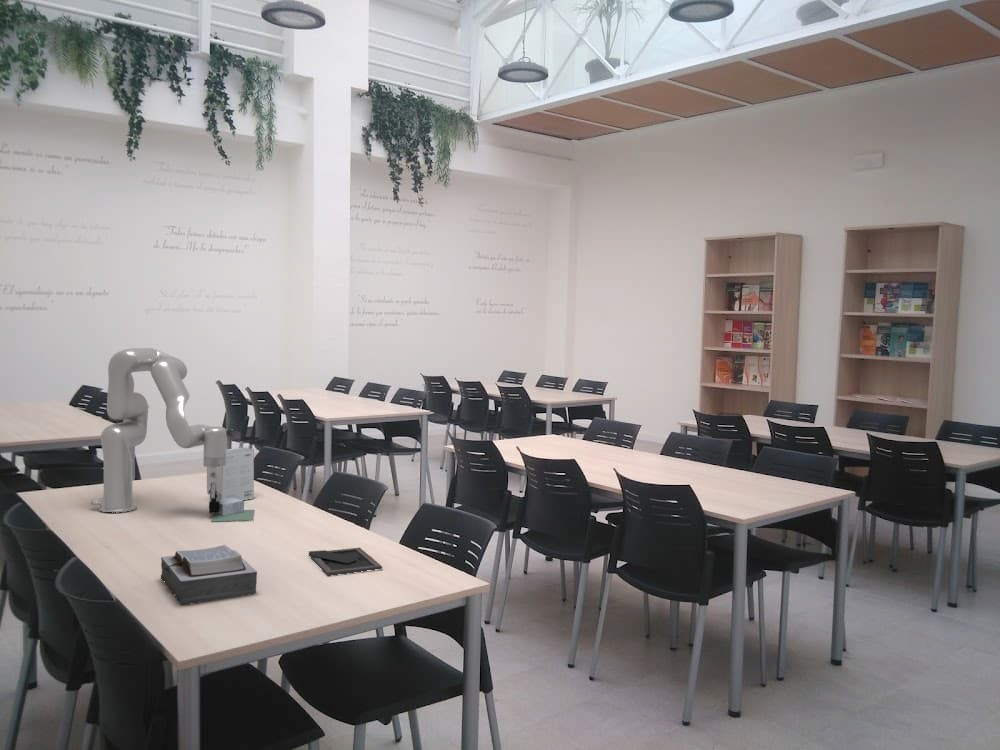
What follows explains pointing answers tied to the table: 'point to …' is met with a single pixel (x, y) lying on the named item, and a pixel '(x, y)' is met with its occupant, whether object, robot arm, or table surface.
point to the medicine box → (230, 506)
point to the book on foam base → (208, 575)
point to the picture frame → (343, 561)
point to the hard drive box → (238, 474)
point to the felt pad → (234, 517)
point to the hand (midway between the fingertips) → (213, 512)
